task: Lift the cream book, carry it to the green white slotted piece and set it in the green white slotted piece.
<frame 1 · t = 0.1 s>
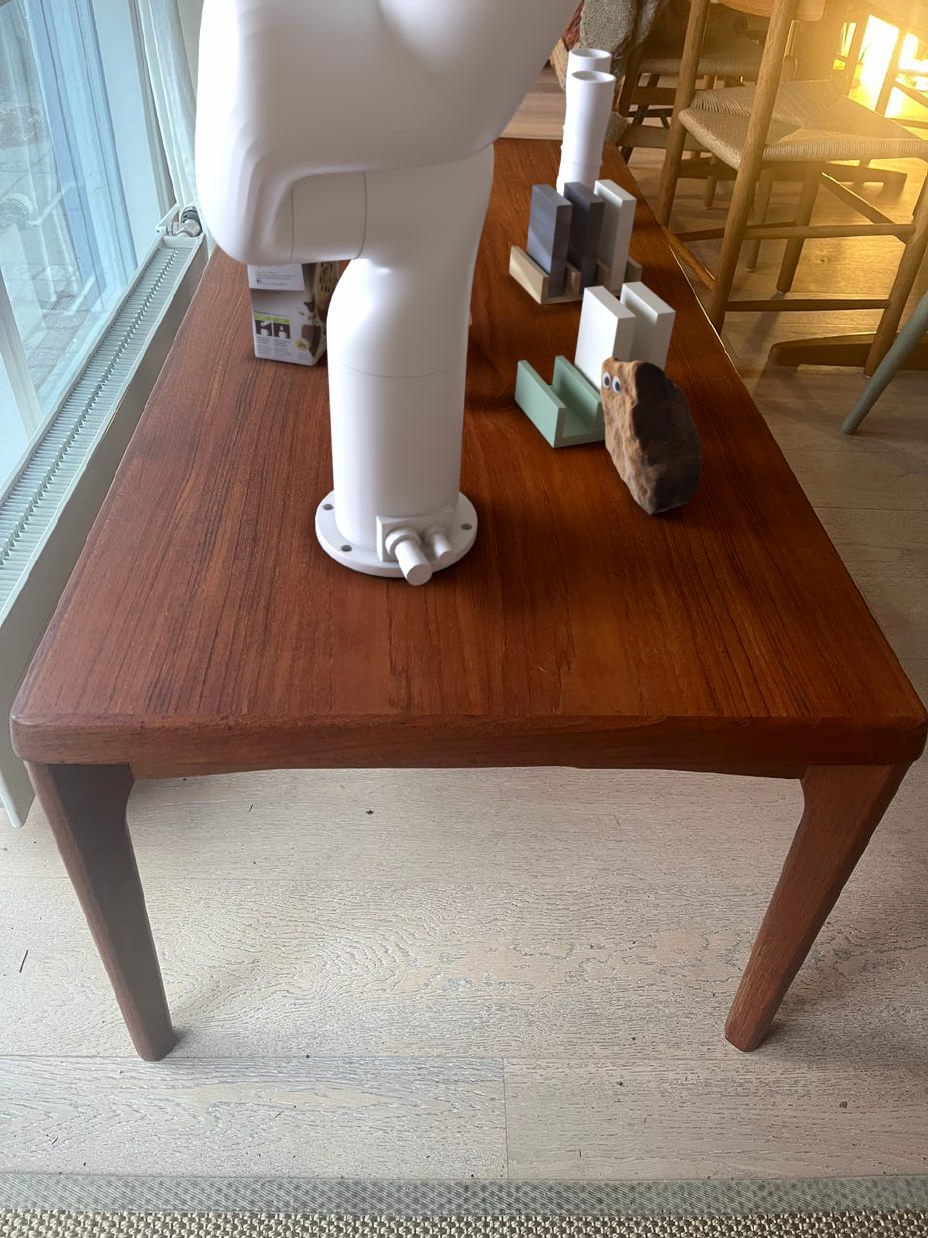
grey rack: (571, 290, 112), on the table
figurine: (424, 394, 93), on the table
coffee box: (300, 344, 100), on the table
binoculars: (573, 216, 131), on the table
cream book: (602, 278, 113), point 1 cm above the table, touching grey rack
decorative rock: (637, 480, 84), on the table
green white slotted piece: (592, 413, 92), on the table
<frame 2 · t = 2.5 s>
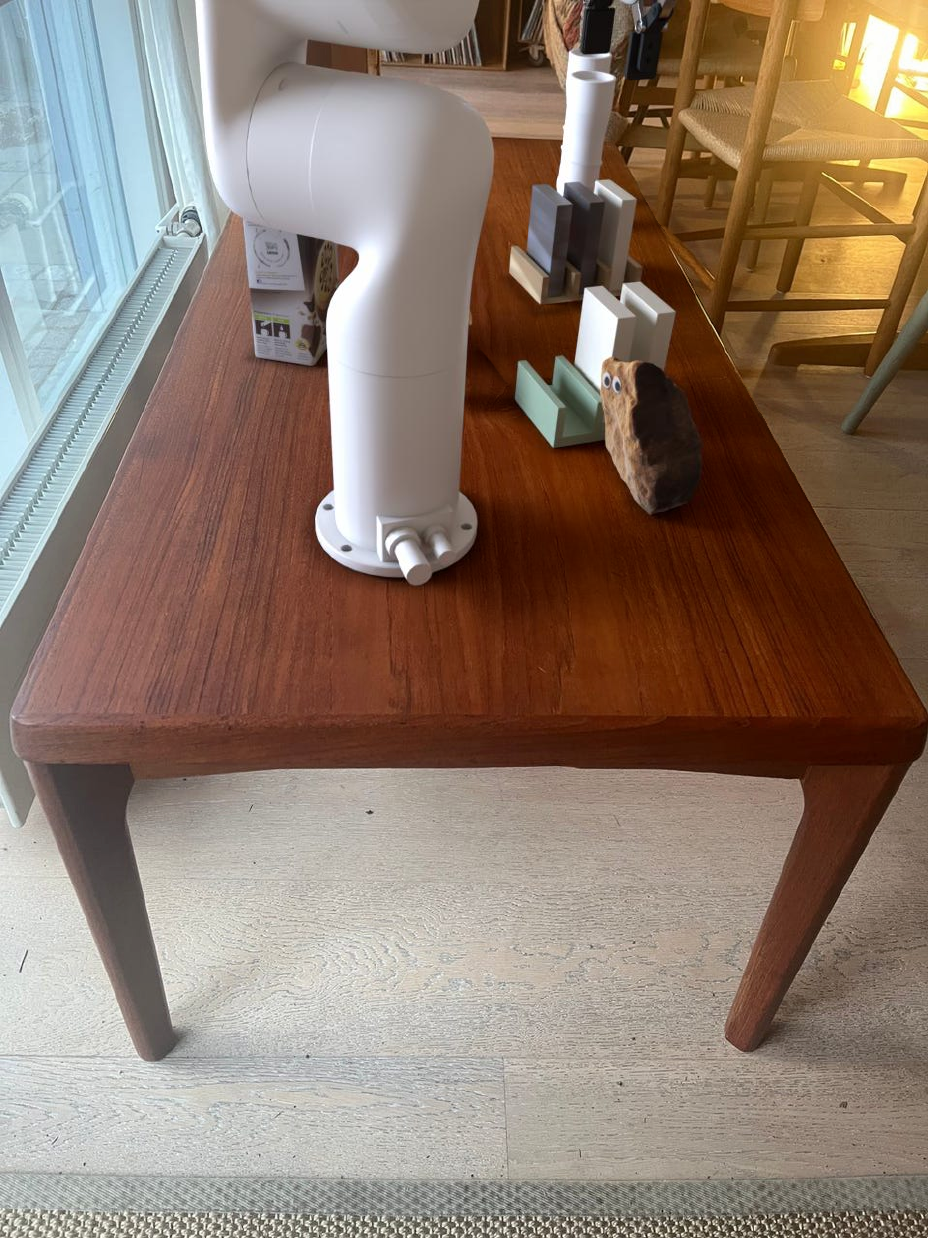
hand: (616, 65, 97), 23 cm above the table, tool pointing down, fingers open, 9 cm apart
nothing on the table moved.
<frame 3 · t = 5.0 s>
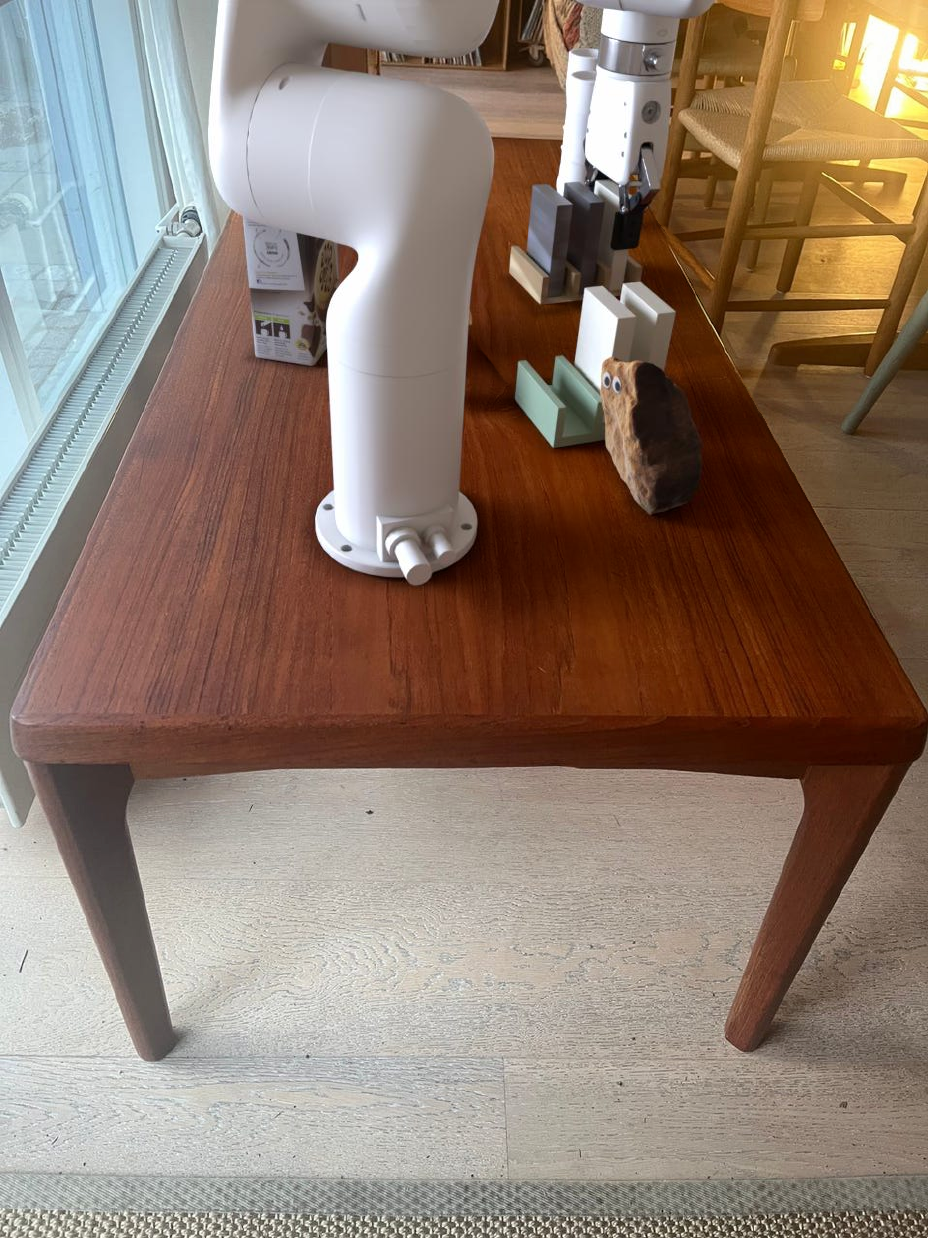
hand: (609, 234, 109), 6 cm above the table, tool pointing down, fingers closed on cream book, 6 cm apart
cream book: (602, 278, 113), point 1 cm above the table, touching grey rack, gripper
everything else where it was.
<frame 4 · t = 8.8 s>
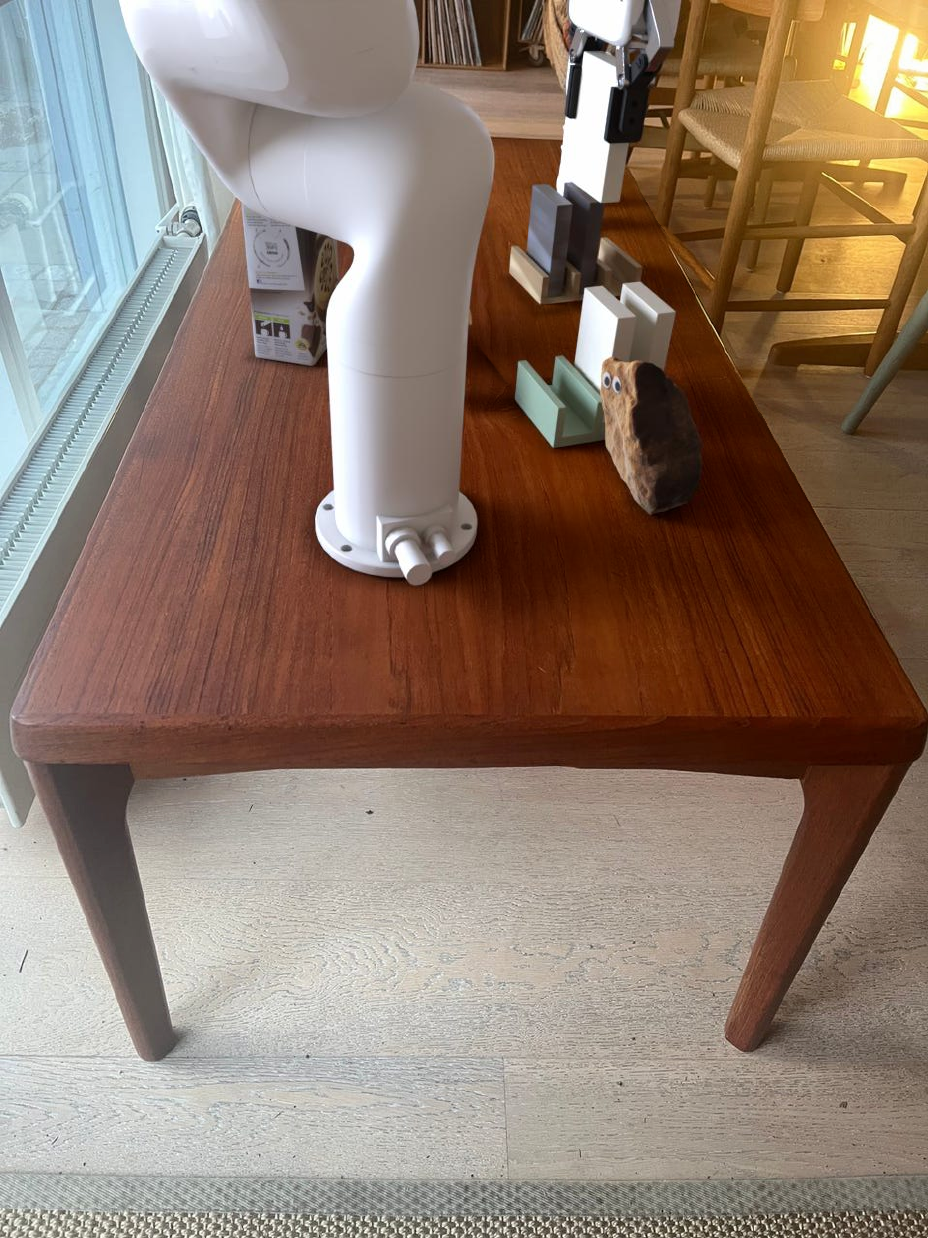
hand: (601, 127, 81), 23 cm above the table, tool pointing down, fingers closed on cream book, 6 cm apart
cream book: (593, 190, 84), point 18 cm above the table, touching gripper
everything else where it was.
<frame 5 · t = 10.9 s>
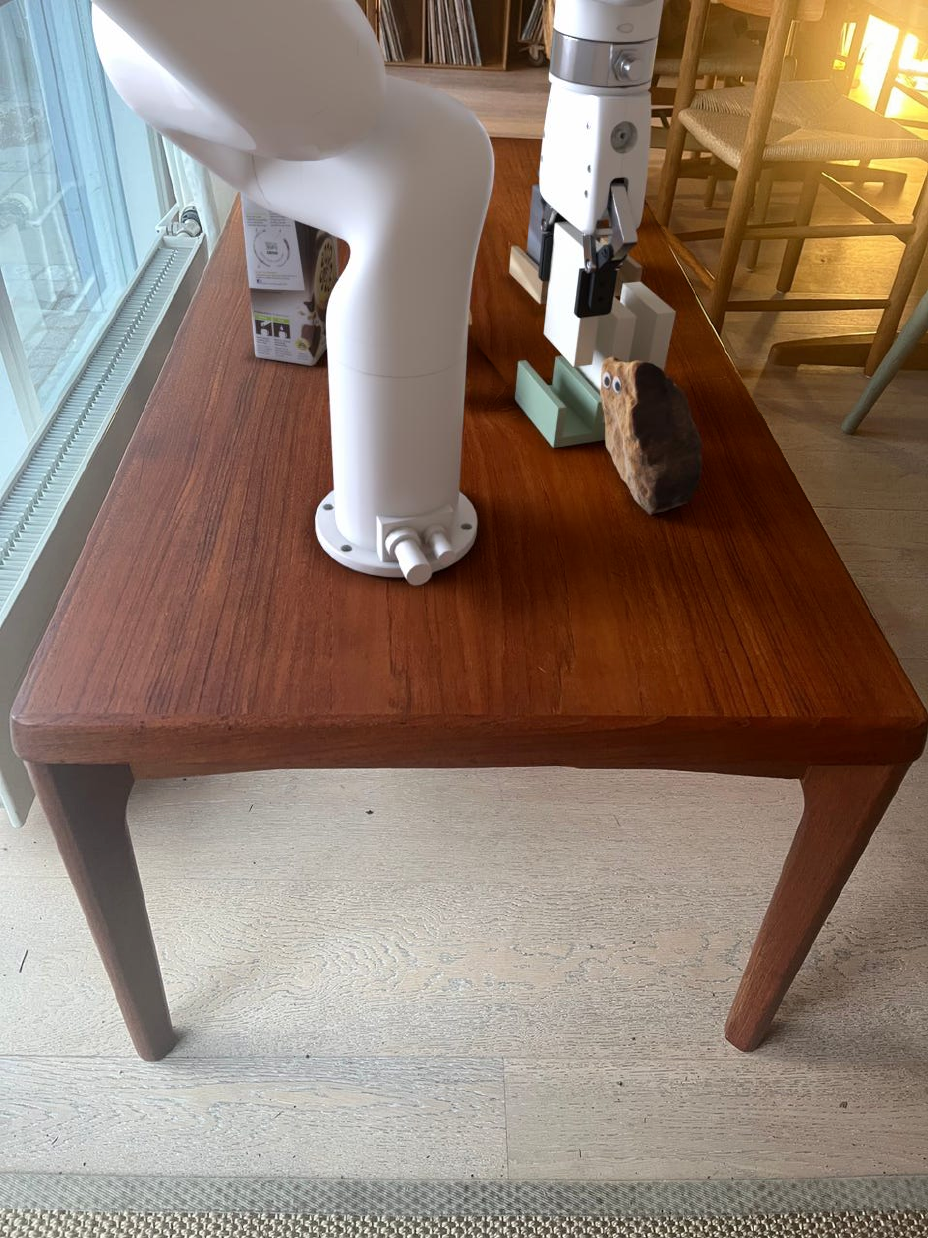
hand: (573, 294, 83), 12 cm above the table, tool pointing down, fingers closed on cream book, 6 cm apart
cream book: (567, 349, 86), point 7 cm above the table, touching gripper
everything else where it was.
when the fingers open (6 cm above the table, at t = 13.0 s): cream book stays where it is, resting on green white slotted piece.
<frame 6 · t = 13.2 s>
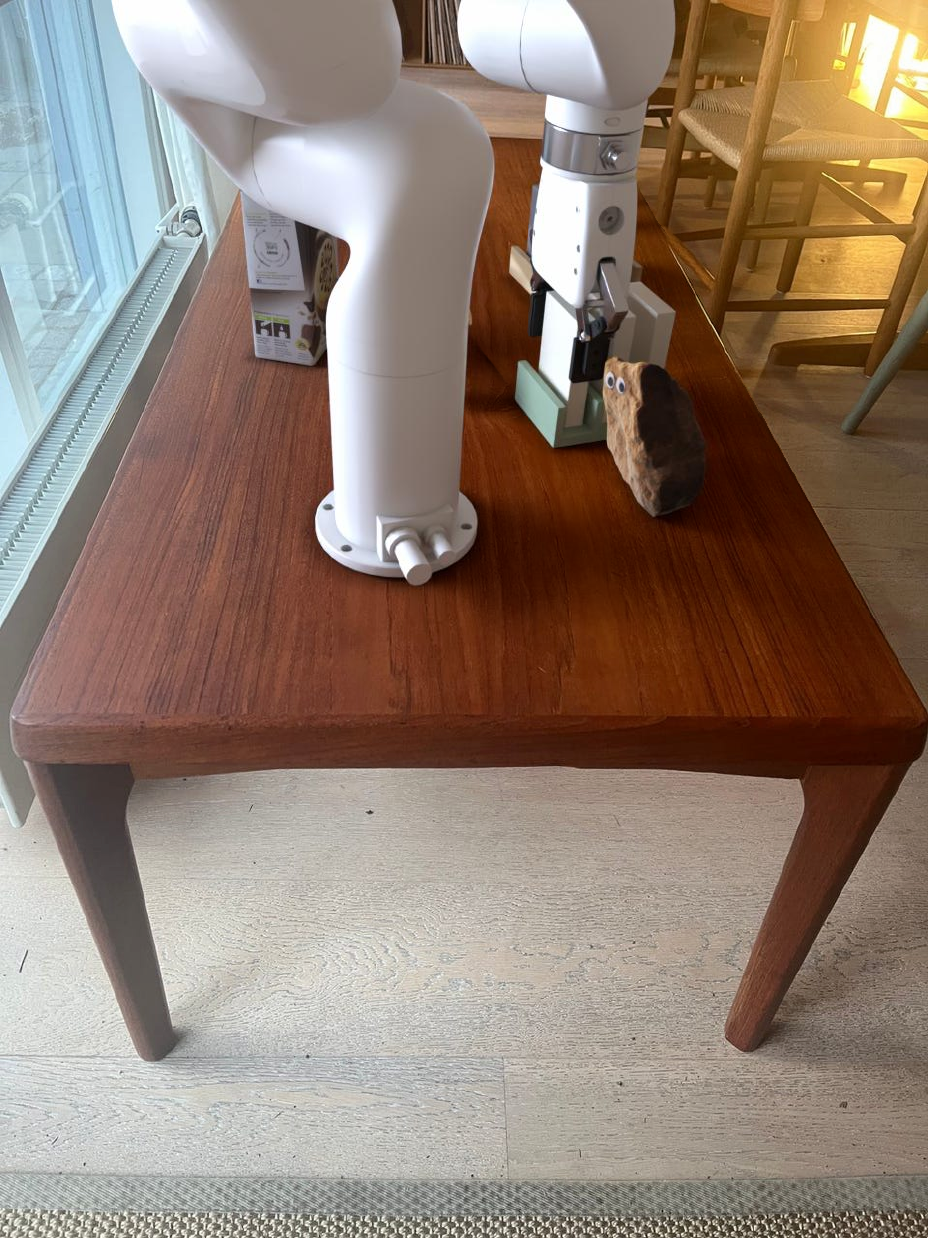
hand: (564, 355, 86), 6 cm above the table, tool pointing down, fingers open, 8 cm apart
cream book: (558, 409, 90), point 1 cm above the table, touching green white slotted piece
decorative rock: (639, 481, 84), on the table, touching gripper
everything else where it was.
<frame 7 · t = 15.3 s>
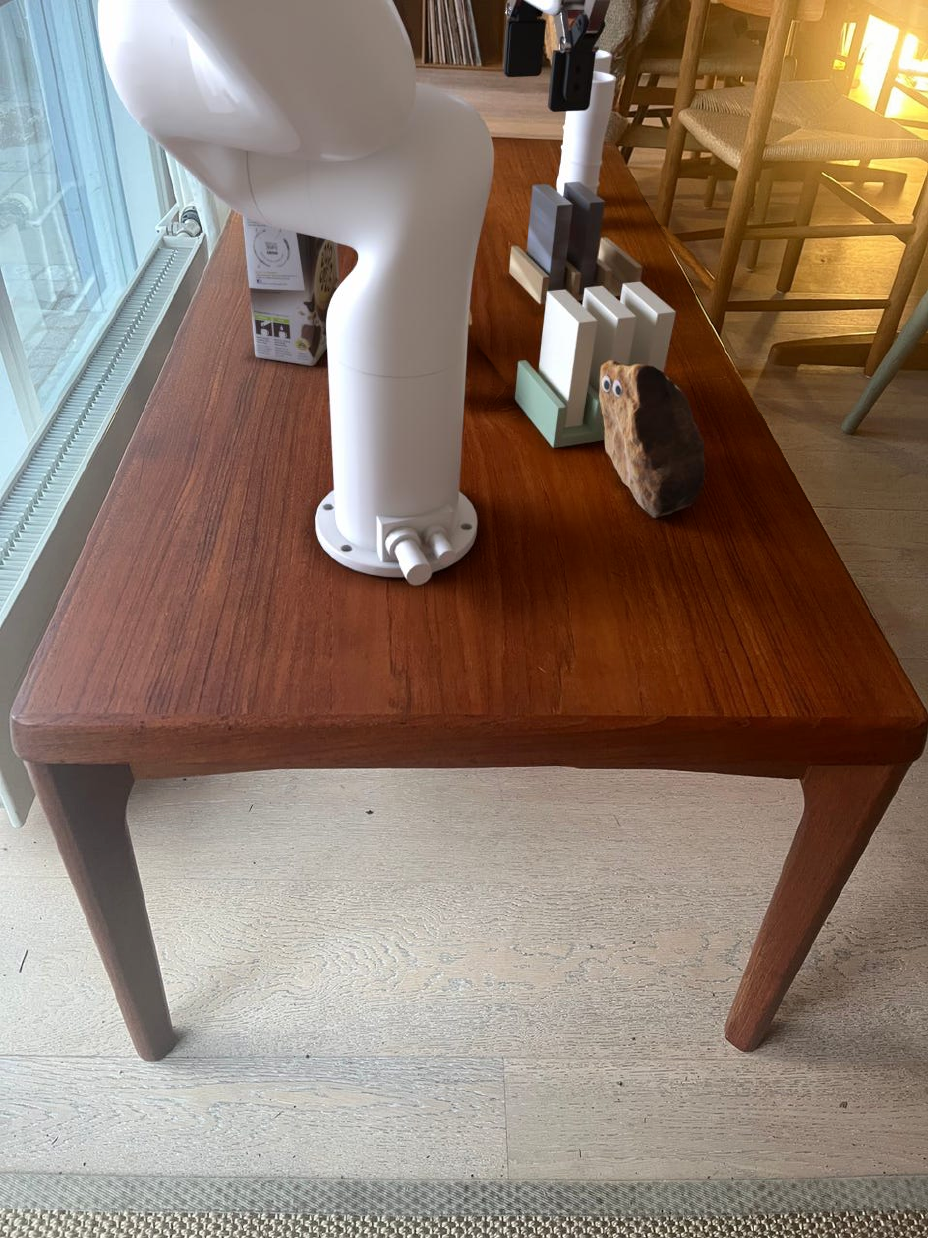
hand: (544, 91, 77), 26 cm above the table, tool pointing down, fingers open, 9 cm apart
decorative rock: (638, 483, 84), on the table
everything else where it was.
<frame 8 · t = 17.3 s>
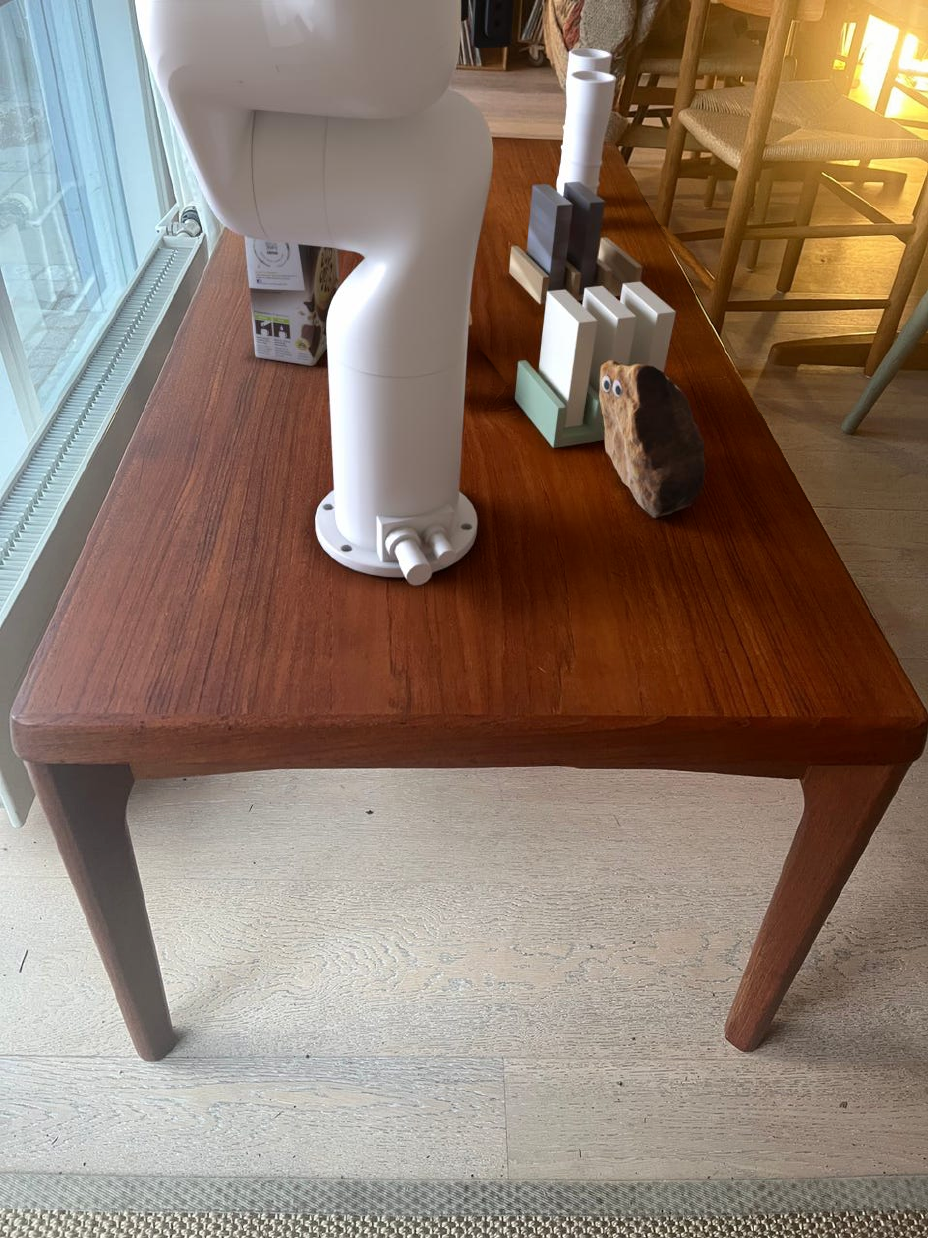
hand: (469, 32, 81), 28 cm above the table, tool pointing down, fingers open, 9 cm apart
nothing on the table moved.
at the end: cream book 0.2 cm from the target spot on the green white slotted piece, point 1.0 cm above the green white slotted piece's base; cream book tilted 0°; the gripper is holding nothing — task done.
